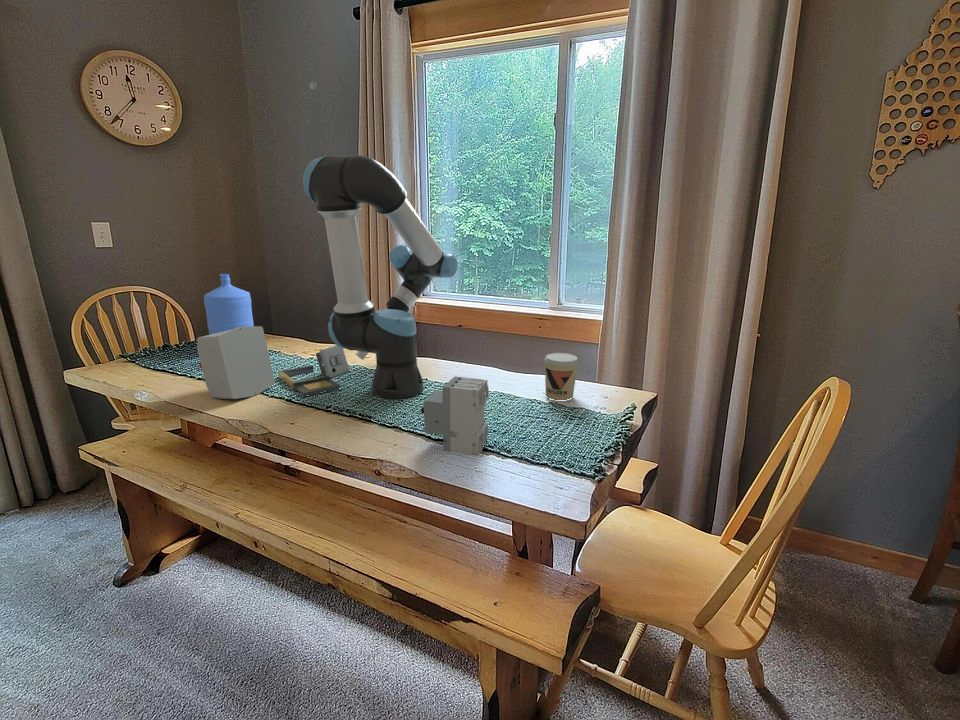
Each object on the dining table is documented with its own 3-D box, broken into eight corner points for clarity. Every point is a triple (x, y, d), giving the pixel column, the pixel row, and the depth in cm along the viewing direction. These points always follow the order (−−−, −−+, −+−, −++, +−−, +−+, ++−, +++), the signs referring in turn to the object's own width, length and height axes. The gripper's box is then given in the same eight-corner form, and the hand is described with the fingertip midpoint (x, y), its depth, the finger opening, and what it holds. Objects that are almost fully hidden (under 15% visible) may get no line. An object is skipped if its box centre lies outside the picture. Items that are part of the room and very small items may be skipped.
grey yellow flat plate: (340, 389, 149) (340, 382, 149) (304, 397, 143) (303, 390, 142) (312, 371, 166) (312, 365, 165) (278, 377, 159) (277, 371, 158)
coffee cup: (539, 400, 142) (541, 359, 139) (547, 389, 151) (549, 351, 147) (572, 404, 139) (574, 363, 136) (578, 394, 147) (581, 354, 144)
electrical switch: (329, 379, 158) (324, 350, 156) (317, 378, 160) (312, 349, 158) (349, 371, 166) (346, 344, 164) (338, 370, 168) (334, 343, 166)
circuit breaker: (430, 433, 120) (429, 373, 116) (487, 441, 116) (488, 379, 112) (417, 446, 113) (416, 383, 109) (478, 455, 110) (478, 390, 105)
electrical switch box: (242, 387, 156) (227, 323, 152) (276, 387, 150) (261, 321, 145) (199, 402, 144) (181, 333, 139) (233, 403, 137) (216, 331, 133)
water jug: (246, 354, 184) (236, 277, 176) (203, 353, 184) (191, 276, 176) (263, 343, 199) (255, 272, 191) (223, 343, 199) (213, 271, 191)
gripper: (418, 312, 170) (376, 368, 165) (398, 306, 180) (358, 359, 175) (404, 298, 165) (360, 355, 160) (384, 292, 175) (342, 346, 170)
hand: (359, 357), depth 167 cm, fingers closed
